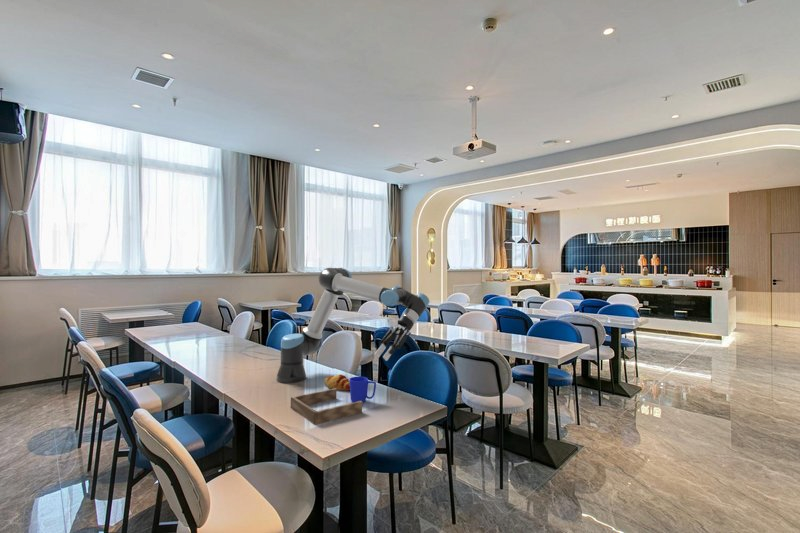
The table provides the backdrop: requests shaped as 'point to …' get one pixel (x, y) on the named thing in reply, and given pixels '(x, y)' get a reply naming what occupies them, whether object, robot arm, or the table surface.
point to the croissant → (338, 382)
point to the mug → (360, 389)
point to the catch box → (325, 415)
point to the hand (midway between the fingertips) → (380, 357)
